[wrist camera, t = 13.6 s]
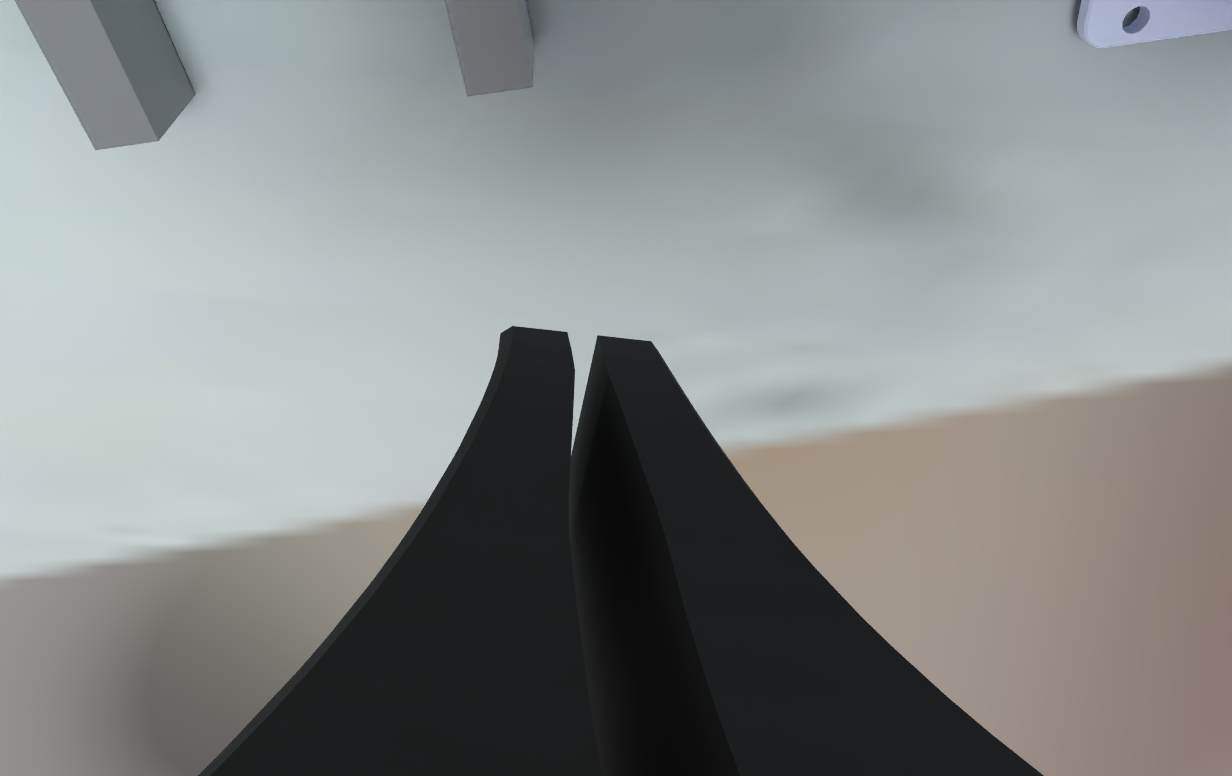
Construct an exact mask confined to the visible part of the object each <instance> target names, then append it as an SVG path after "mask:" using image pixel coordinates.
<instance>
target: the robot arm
mask: <svg viewBox="0 0 1232 776" xmlns="http://www.w3.org/2000/svg"><path fill="white" fill-rule="evenodd" d="M1138 6H1140V12H1139V14H1138V16H1137V18H1136V20H1134V21H1133V22H1132V23H1131V24H1130V25H1128V26H1125V27H1123V26H1122V22H1123V20H1124V18H1125V16H1126V14H1127V13H1128V12H1130V11H1131V10H1132V9H1133V8H1136V7H1138ZM1228 30H1232V0H1082V1H1081V6H1080V10H1079V15H1078V20H1077V32H1078V34H1079V36H1080V38H1081V39H1082V40H1084V41H1085V42H1086V43H1088V44H1089V45H1091V46H1093V47H1094V48H1109V47H1116V46H1123V45H1130V44H1137V43H1144V42H1151V41H1158V40H1165V39H1172V38H1179V37H1186V36H1193V35H1200V34H1207V33H1214V32H1221V31H1228ZM574 381H575V368H574V362H573V356H572V350H571V346H570V342H569V338H568V333H567V332H561V331H552V330H543V329H534V328H525V327H516V326H512V327H510V328H509V329H507V330H505V331H504V332H502V333H501V335H500V343H499V350H498V357H497V361H496V364H495V367H494V371H493V373H492V376H491V379H490V382H489V384H488V387H487V389H486V392H485V394H484V397H483V399H482V402H481V404H480V406H479V408H478V410H477V412H476V414H475V416H474V418H473V420H472V422H471V424H470V426H469V428H468V431H467V433H466V435H465V437H464V439H463V441H462V443H461V445H460V447H459V449H458V450H457V452H456V454H455V456H454V458H453V459H452V461H451V463H450V464H449V466H448V468H447V470H446V471H445V473H444V475H443V476H442V478H441V480H440V481H439V483H438V485H437V486H436V488H435V490H434V491H433V493H432V495H431V496H430V498H429V500H428V501H427V503H426V505H425V506H424V508H423V509H422V511H421V513H420V514H419V516H418V517H417V519H416V520H415V522H414V523H413V525H412V526H411V528H410V529H409V531H408V532H407V534H406V535H405V537H404V538H403V539H402V541H401V542H400V544H399V545H398V547H397V548H396V549H395V551H394V552H393V554H392V555H391V556H390V558H389V559H388V560H387V562H386V563H385V565H384V566H383V567H382V569H381V570H380V572H379V573H378V574H377V576H376V577H375V578H374V580H373V581H372V582H371V583H370V585H369V586H368V587H367V589H366V590H365V591H364V592H363V593H362V595H361V596H360V597H359V599H358V600H357V601H356V602H355V603H354V605H353V606H352V607H351V608H350V610H349V611H348V612H347V613H346V615H345V616H344V617H343V618H342V620H341V621H340V622H339V623H338V625H337V626H336V627H335V628H334V630H333V631H332V632H331V633H330V635H329V636H328V637H327V638H326V639H325V640H324V642H323V643H322V644H321V645H320V646H319V648H318V649H317V650H316V651H315V652H314V653H313V654H312V656H311V657H310V658H309V659H308V660H307V661H306V662H305V664H304V665H303V666H302V667H301V668H300V670H298V672H297V673H296V674H295V675H294V676H293V677H292V678H291V679H290V680H289V681H288V682H287V683H286V684H285V686H284V687H283V688H282V689H281V690H280V691H279V692H278V693H277V694H276V695H275V696H274V697H273V698H272V699H271V700H270V701H269V702H268V703H267V705H266V706H265V707H264V708H263V709H262V710H261V711H260V712H259V713H258V714H257V715H256V716H255V717H254V718H253V719H252V721H251V722H250V723H249V724H248V725H247V726H246V727H245V728H244V729H243V730H242V731H241V732H240V733H239V734H238V736H236V738H235V739H234V740H233V741H232V742H231V743H230V744H229V745H228V746H227V747H226V748H225V749H224V750H223V751H222V752H221V753H220V754H219V755H218V756H217V757H216V758H215V759H214V760H213V761H212V762H211V763H210V764H209V765H208V766H207V768H205V769H204V770H203V771H202V772H201V773H200V774H199V775H198V776H1043V775H1042V774H1041V773H1040V772H1038V771H1037V770H1036V769H1035V768H1033V767H1032V766H1031V765H1029V764H1028V763H1027V762H1026V761H1024V760H1023V759H1022V758H1021V757H1019V756H1018V755H1017V754H1016V753H1014V752H1013V751H1012V750H1010V749H1009V748H1008V747H1007V746H1006V745H1004V744H1003V743H1002V742H1001V741H999V740H998V739H997V738H995V737H994V736H993V735H992V734H990V733H989V732H988V731H987V730H986V729H984V728H983V727H982V726H981V725H980V724H979V723H977V722H976V721H975V720H974V719H973V718H971V717H970V716H969V715H968V714H967V713H966V712H964V711H963V710H962V709H961V708H960V707H959V706H957V705H956V704H955V703H954V702H952V701H951V700H950V699H949V698H948V697H947V696H946V695H944V694H943V693H942V692H941V691H940V690H939V689H938V688H937V687H936V686H935V685H934V684H932V683H931V682H930V681H929V680H928V679H927V678H926V677H925V676H924V675H923V674H922V673H920V672H919V671H918V670H917V669H916V668H915V667H914V666H913V665H911V663H909V662H908V661H907V660H906V659H905V658H904V657H903V656H902V655H901V654H899V653H898V652H897V651H896V650H895V649H894V648H893V647H892V646H891V645H890V644H889V643H888V642H887V641H886V640H885V639H884V638H883V637H882V636H881V635H879V634H878V633H877V632H876V631H875V630H874V629H873V628H872V627H871V626H870V625H869V624H868V623H867V622H866V621H865V620H864V619H863V618H862V617H861V616H860V615H859V614H858V613H857V612H856V611H855V610H854V609H853V608H852V606H851V605H850V604H849V603H848V602H847V601H846V600H845V599H844V598H843V597H842V596H841V595H840V594H839V593H838V592H837V591H836V590H835V588H834V587H833V586H832V585H831V584H830V583H829V582H828V581H827V580H826V579H825V578H824V577H823V576H822V575H821V574H820V573H819V572H818V571H817V570H816V569H815V567H814V566H813V565H812V564H811V563H810V562H809V561H808V559H807V558H806V557H805V556H804V555H803V554H802V553H801V551H800V550H799V549H798V548H797V547H796V546H795V545H794V543H793V542H792V541H791V540H790V539H789V537H788V536H787V535H786V534H785V532H784V531H783V530H782V529H781V527H779V525H778V524H777V522H776V521H775V520H774V519H773V517H772V516H771V515H770V514H769V512H768V511H767V510H766V509H765V508H764V506H763V505H762V504H761V502H760V501H759V500H758V498H757V497H756V496H755V494H754V493H753V492H752V490H751V489H750V488H749V486H748V485H747V484H746V482H745V481H744V480H743V478H742V477H741V475H740V474H739V473H738V472H737V470H736V469H735V467H734V466H733V464H732V463H731V461H730V460H729V459H728V457H727V456H726V454H725V453H724V452H723V450H722V449H721V447H720V446H719V445H718V443H717V442H716V440H715V439H714V437H713V436H712V434H711V433H710V431H709V430H708V428H707V427H706V425H705V424H704V422H703V421H702V419H701V418H700V416H699V415H698V413H697V412H696V410H695V409H694V407H693V406H692V404H691V403H690V401H689V399H688V398H687V396H686V395H685V393H684V392H683V390H682V388H681V387H680V385H679V384H678V382H677V380H676V379H675V377H674V376H673V374H672V372H671V371H670V369H669V368H668V366H667V364H666V363H665V361H664V360H663V358H662V356H661V355H660V353H659V352H658V350H657V349H656V348H655V346H654V345H653V343H652V342H651V341H643V340H634V339H625V338H616V337H607V336H597V340H596V345H595V350H594V354H593V359H592V363H591V368H590V373H589V377H588V382H587V386H586V391H585V396H584V400H583V405H582V409H581V414H580V418H579V423H578V428H577V432H576V437H575V441H574V446H573V451H572V455H571V442H572V423H573V402H574Z"/></svg>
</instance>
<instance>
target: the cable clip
mask: <svg viewBox="0 0 1232 776" xmlns="http://www.w3.org/2000/svg"><path fill="white" fill-rule="evenodd" d="M15 2H16V4H17V5H18V7H19V9H20V11H21V13H22V15H23V17H24V18H25V20H26V22H27V24H28V26H29V28H30V30H31V31H32V33H33V35H34V37H35V39H36V41H37V43H38V44H39V46H40V48H41V50H42V52H43V54H44V56H45V57H46V59H47V61H48V63H49V65H50V67H51V69H52V70H53V72H54V74H55V76H56V78H57V80H58V82H59V83H60V85H61V87H62V89H63V91H64V93H65V94H66V96H67V98H68V100H69V102H70V104H71V106H72V107H73V109H74V111H75V113H76V115H77V117H78V119H79V120H80V122H81V124H82V126H83V128H84V130H85V132H86V133H87V135H88V137H89V139H90V141H91V143H92V145H93V146H94V148H95V150H99V149H106V148H113V147H120V146H127V145H134V144H141V143H148V142H155V141H159V140H160V138H161V137H162V136H163V135H164V133H165V132H166V131H167V130H168V128H169V127H170V126H171V125H172V123H173V122H174V121H175V120H176V118H177V117H178V116H179V115H180V113H181V112H182V111H183V110H184V108H185V107H186V106H187V105H188V103H189V102H190V101H191V100H192V98H193V97H194V96H195V93H194V91H193V89H192V87H191V84H190V82H189V80H188V77H187V75H186V73H185V71H184V68H183V66H182V64H181V62H180V59H179V57H178V55H177V53H176V50H175V48H174V46H173V44H172V41H171V39H170V37H169V35H168V32H167V30H166V28H165V25H164V23H163V21H162V19H161V16H160V14H159V12H158V10H157V7H156V5H155V3H154V1H153V0H15ZM445 4H446V8H447V12H448V17H449V21H450V25H451V29H452V33H453V38H454V42H455V46H456V50H457V54H458V59H459V63H460V67H461V71H462V75H463V80H464V84H465V88H466V92H467V96H474V95H481V94H488V93H495V92H501V91H508V90H515V89H522V88H529V87H533V64H534V41H533V36H532V30H531V24H530V19H529V13H528V8H527V2H526V0H445Z"/></svg>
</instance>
